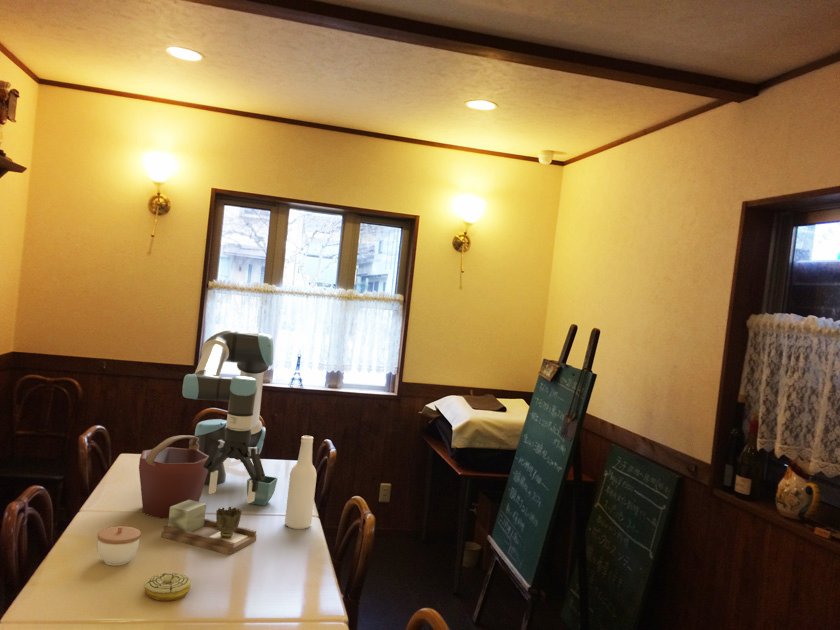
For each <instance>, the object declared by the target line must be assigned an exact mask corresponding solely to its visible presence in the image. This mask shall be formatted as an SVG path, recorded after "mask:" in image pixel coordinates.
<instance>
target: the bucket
mask: <svg viewBox="0 0 840 630" xmlns="http://www.w3.org/2000/svg"><path fill="white" fill-rule="evenodd" d="M184 439H189V441H188V448H182V447H181V448H180V447H170V445H172V444H173V443H175V442H176V441H180V440H184ZM198 441H199V437H195V435H186V434H185V435H184V434H183V435H182V434H181V435H174V436H171V437H168V438H166V439H164V440H162V442H161V443H159V444H158V445H156V446H155V447H154V448H152V449H145V450H142V452H141V455H140V457H139V464H138V472H139V481H140V484H139V485H140V494H141V504H142V513H145V514H144V515H146V514H148V516H150V515H151V516H150V517H153V516H154V518H157V517H158V519H169V512H170V507H171V506H174V505H176V504H179V503H182V502H184V501H187V500H192V501H197V502H200V499H201V496H202V493H203V489H204V486H205V484H204V483H205V480H206V477H207V474H208V469H205V468H204V467H203V466H204V464H205V462H206V461H207V459H208V457H209V456H208V455H206V454H205V453H203V452H201V451H199V444H198Z"/></svg>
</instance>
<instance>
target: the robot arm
mask: <svg viewBox="0 0 840 630" xmlns="http://www.w3.org/2000/svg"><path fill="white" fill-rule="evenodd" d="M273 342H274V340H273V337H272V335H271V334H267V333H261V332H250V331H241V330H239V331H238V330H224V331H220V332H217V333H215V334H213V335H212V336H210V337H209V338H207V340H205V341H204V343H203V345H202V346H201V351H200V352H201V353H200V354H201V357H200V360H199V363H198V365H197V367H196V369H195V371H194V373H192V374H191V373H188V374H186V375H185V376H184V378H183V382H182V383H183V384H182V392H181V393H182V397H184V399H185V398H186V399H192V400H203V401H219V402H228V407H227V414H226V415H227V418H226V419H221V418H220V419H219V418H218V419H217V418H216V419H215V418H213V419H207V420H202V421H199V422H198V423H197V424H196V426H195V430H194V431H195V432H194V435H193V436H195V437H199V441H198V444H199V451H201V452H203V453H205V454H206V455H208V456H209V457H208V459H207V461H206V462H205V464H204V466H203V467H204V468H205V469H208V474H207V477H206V480H205V483H204V485H209V487H208V494H209V495H212V494H214V493H216V492H217V488H218V487H217V486H218V484H221V483H224V482H225V481H226V477H227V473H226V469H225V464H224V462H225V461H226V460H227V459H228V458H229V459H234V460H236V461H237V460H239V461H240V462H241V463H242V464H243V466H244V468H245V470H246V471H247V474H248V475H249V477H250V478H251V479H252V480H251V481H250V482H249V491H248V495H247V499H246V501H247V502H246V503H247V504H251V502H253V501H254V499H255V492H256V491H257V490H258V484H259V481H261V480H263V479H265V476H266V474H265V470H264V468H263V464H262V461H261V457H260V454H261V452H262V450H263V447H264V446H263V445H264V440H265V437H266V430H267V429H266V427H265V426H263V423H262V421H261V420H260V412H261V405H262V404H261V403H262V393H263V385H264V373H266V372H267V371H268V370H269V367H272V366H273V365H274V343H273ZM225 362H226V363H227V362H228V363H236V368H237V369H238V371H240V373H239V375H237V376H233V377H227V376H220V375H221V372H222V369H223V365H224V363H225Z"/></svg>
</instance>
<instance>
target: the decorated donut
mask: <svg viewBox="0 0 840 630" xmlns="http://www.w3.org/2000/svg"><path fill="white" fill-rule="evenodd" d="M191 582H192V580H191V579H190V577H188V576H187V575H185V574H180V573H176V572H164V573H160V574H156V575H153V576H151V577H149V578H147V579H146V581H145V582H144V584H143V589H144V593H145V594H146V595H147V596H148V597H150V598H151V599H153V600H156V601H163V602H165V601H166V602H167V601H169V602H171V601H177V600H179V599H182V598H183V597H185V595H187V594H188V593H189V591H190V589H191Z"/></svg>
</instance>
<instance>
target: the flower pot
mask: <svg viewBox="0 0 840 630" xmlns="http://www.w3.org/2000/svg"><path fill="white" fill-rule="evenodd" d="M251 480H252V479H251V477H250V478H248V479H247V480H246V494H247V496H248V491H249V482H250V481H251ZM277 482H278V477H274V476H268V475H265V479H263V480H261V481H259V484H258V490H257V491H256V492H255V499H254V501H253V502H251V503H250V504H252V505H256V506H257V505H258V506H262V505H263V506H266V505H267V504H268V503H269V502H270V500H271V499H272V498H273V495H274V493H275V490H276V486H277Z"/></svg>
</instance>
